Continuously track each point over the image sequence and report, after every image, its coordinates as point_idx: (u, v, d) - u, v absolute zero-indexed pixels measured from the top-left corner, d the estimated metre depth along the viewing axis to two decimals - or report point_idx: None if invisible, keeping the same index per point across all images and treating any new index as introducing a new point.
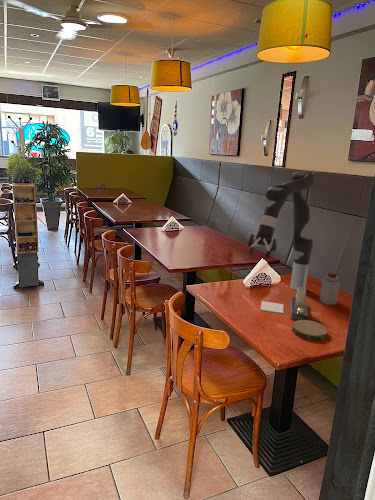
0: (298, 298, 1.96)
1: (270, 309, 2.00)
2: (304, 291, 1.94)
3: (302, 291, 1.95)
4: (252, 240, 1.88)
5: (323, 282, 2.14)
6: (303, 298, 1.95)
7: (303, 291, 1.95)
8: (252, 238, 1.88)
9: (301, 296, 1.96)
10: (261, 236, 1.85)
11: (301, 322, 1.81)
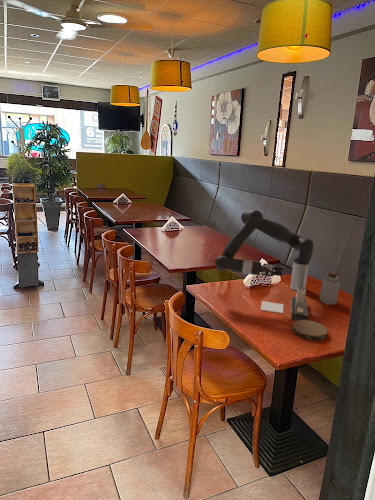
0: (298, 298, 1.96)
1: (270, 309, 2.00)
2: (304, 291, 1.94)
3: (302, 291, 1.95)
4: None
5: (323, 282, 2.14)
6: (303, 298, 1.95)
7: (303, 291, 1.95)
8: None
9: (301, 296, 1.96)
10: None
11: (301, 322, 1.81)
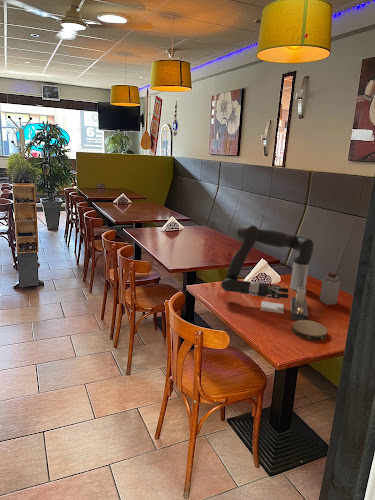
0: (298, 298, 1.96)
1: (270, 309, 2.00)
2: (304, 291, 1.94)
3: (302, 291, 1.95)
4: (274, 288, 2.07)
5: (323, 282, 2.14)
6: (303, 298, 1.95)
7: (303, 291, 1.95)
8: None
9: (301, 296, 1.96)
10: None
11: (301, 322, 1.81)
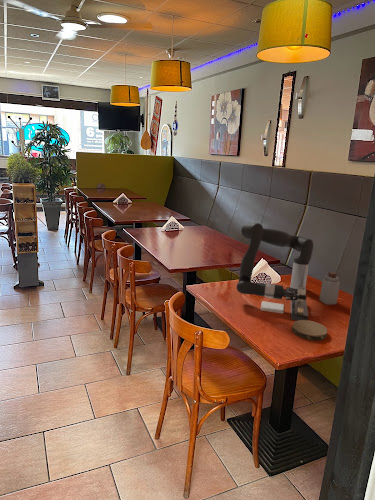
0: None
1: (270, 309, 2.00)
2: (304, 291, 1.94)
3: (302, 291, 1.95)
4: None
5: (323, 282, 2.14)
6: None
7: (303, 292, 1.95)
8: None
9: None
10: None
11: (301, 322, 1.81)
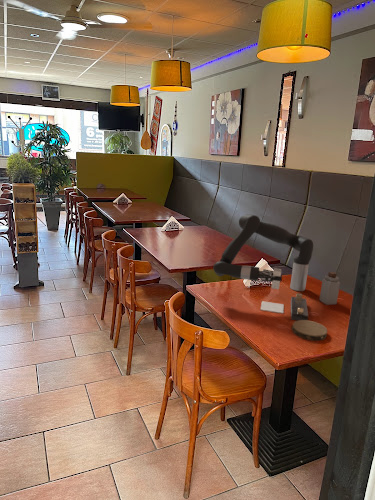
0: None
1: (270, 309, 2.00)
2: (279, 272, 1.95)
3: (277, 272, 1.96)
4: None
5: (323, 282, 2.14)
6: None
7: (279, 273, 1.95)
8: None
9: None
10: None
11: (301, 322, 1.81)
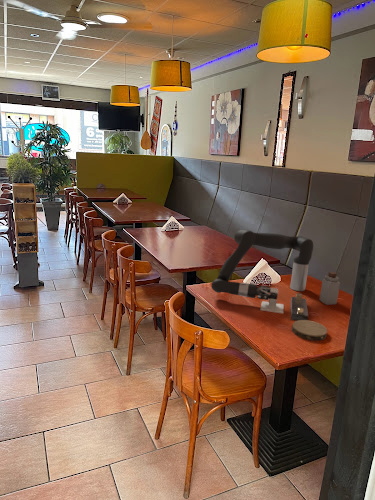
0: (270, 299, 2.00)
1: (270, 309, 2.00)
2: (276, 292, 1.99)
3: (274, 292, 1.99)
4: None
5: (323, 282, 2.14)
6: (275, 299, 2.00)
7: (275, 293, 1.99)
8: None
9: None
10: None
11: (301, 322, 1.81)
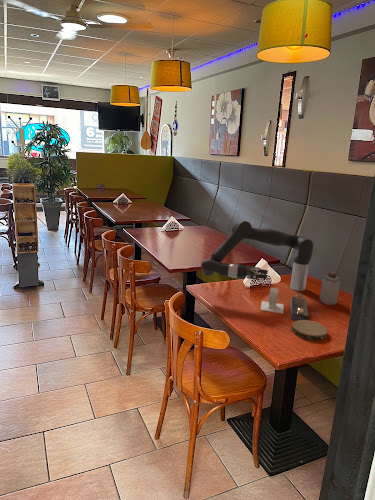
0: (270, 299, 2.00)
1: (270, 309, 2.00)
2: (276, 292, 1.99)
3: (274, 292, 1.99)
4: None
5: (323, 282, 2.14)
6: (275, 299, 2.00)
7: (275, 293, 1.99)
8: None
9: (273, 297, 2.00)
10: None
11: (301, 322, 1.81)
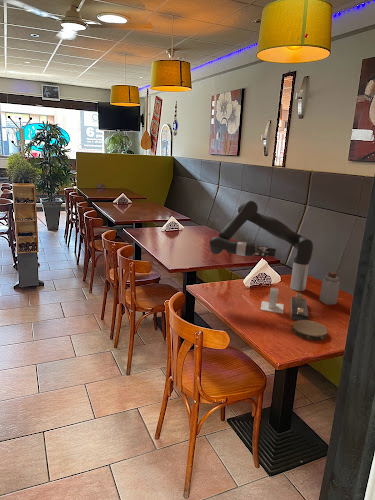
0: (270, 299, 2.00)
1: (270, 309, 2.00)
2: (276, 292, 1.99)
3: (274, 292, 1.99)
4: None
5: (323, 282, 2.14)
6: (275, 299, 2.00)
7: (275, 293, 1.99)
8: None
9: (273, 297, 2.00)
10: None
11: (301, 322, 1.81)
